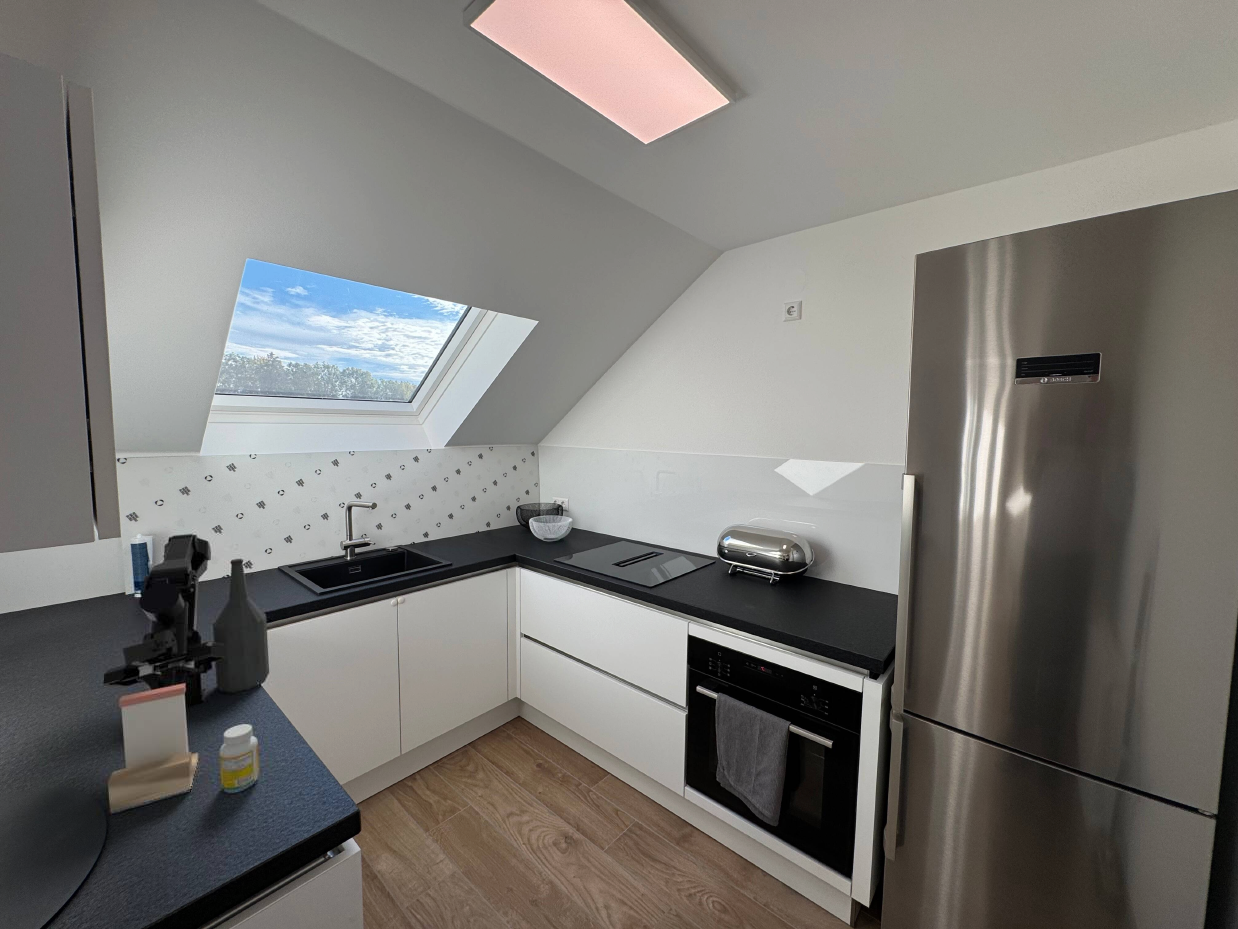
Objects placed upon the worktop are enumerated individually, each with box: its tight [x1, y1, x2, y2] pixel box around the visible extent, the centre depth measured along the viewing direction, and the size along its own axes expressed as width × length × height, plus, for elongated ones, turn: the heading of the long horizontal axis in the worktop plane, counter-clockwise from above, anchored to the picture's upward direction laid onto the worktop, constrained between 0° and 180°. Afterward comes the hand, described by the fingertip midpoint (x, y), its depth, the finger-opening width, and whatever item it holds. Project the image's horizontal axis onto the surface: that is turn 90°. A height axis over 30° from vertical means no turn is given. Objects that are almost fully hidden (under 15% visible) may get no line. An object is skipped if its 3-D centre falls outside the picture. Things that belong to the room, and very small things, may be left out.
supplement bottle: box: [219, 723, 260, 790], centre depth 92 cm, size 5×5×10 cm
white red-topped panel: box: [118, 683, 189, 769], centre depth 92 cm, size 2×8×14 cm, turn 122°
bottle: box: [212, 558, 270, 693], centre depth 126 cm, size 10×10×30 cm
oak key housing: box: [107, 751, 199, 812], centre depth 91 cm, size 10×10×6 cm
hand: (165, 711), depth 99 cm, fingers closed
